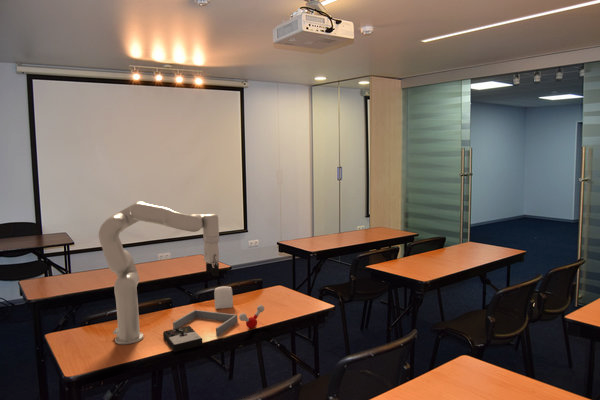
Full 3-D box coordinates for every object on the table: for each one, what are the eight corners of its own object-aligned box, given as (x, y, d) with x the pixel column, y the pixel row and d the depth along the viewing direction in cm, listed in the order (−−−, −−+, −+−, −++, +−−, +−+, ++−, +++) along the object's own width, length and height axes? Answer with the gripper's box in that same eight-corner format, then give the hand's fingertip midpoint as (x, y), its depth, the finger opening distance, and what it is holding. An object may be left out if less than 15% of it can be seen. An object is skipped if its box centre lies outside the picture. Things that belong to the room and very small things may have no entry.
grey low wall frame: (173, 330, 216) (172, 322, 215) (195, 317, 233) (195, 309, 233) (218, 336, 206) (217, 328, 206) (237, 322, 224) (237, 314, 224)
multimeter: (190, 332, 213) (189, 322, 213) (203, 346, 197) (202, 335, 196) (163, 338, 206) (162, 328, 206) (174, 353, 190) (173, 342, 190)
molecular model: (247, 335, 206) (246, 315, 205) (237, 333, 209) (236, 313, 208) (266, 323, 222) (265, 304, 221) (256, 321, 224) (255, 302, 223)
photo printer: (214, 309, 244) (213, 288, 243) (215, 307, 249) (214, 286, 248) (233, 308, 246) (232, 287, 245) (233, 305, 250) (232, 284, 249)
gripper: (198, 237, 216) (200, 271, 218) (209, 242, 201) (210, 278, 203) (213, 236, 220) (214, 268, 221) (224, 241, 205) (225, 276, 206)
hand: (212, 273), depth 212 cm, fingers open, 9 cm apart
